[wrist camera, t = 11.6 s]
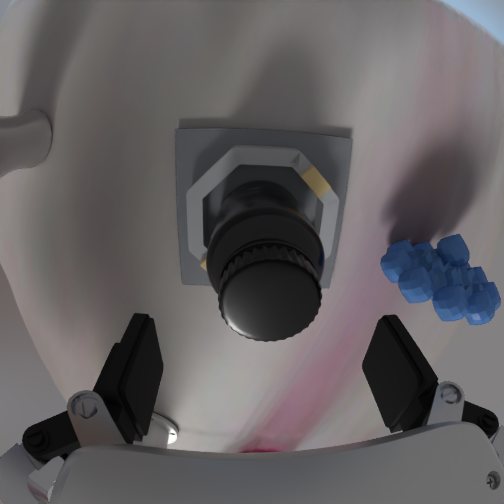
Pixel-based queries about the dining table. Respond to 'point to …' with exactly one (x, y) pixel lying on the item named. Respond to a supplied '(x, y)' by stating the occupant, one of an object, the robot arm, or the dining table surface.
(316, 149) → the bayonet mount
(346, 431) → the dining table surface
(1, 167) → the beer glass
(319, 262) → the supplement bottle
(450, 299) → the blue petal flower
